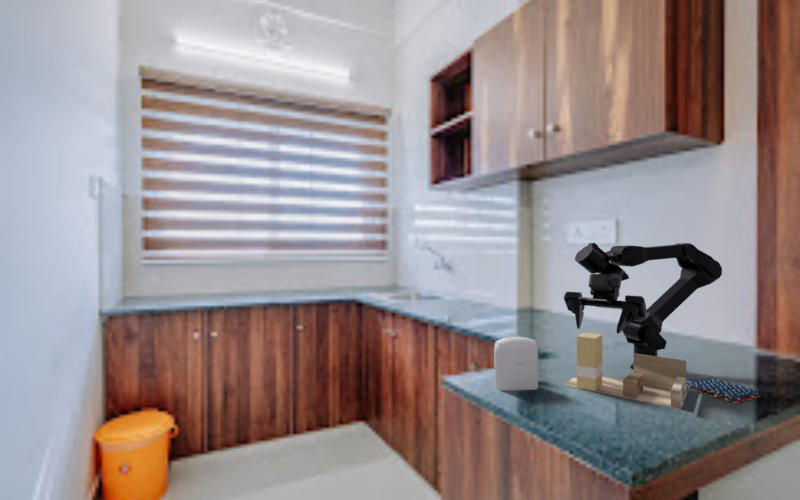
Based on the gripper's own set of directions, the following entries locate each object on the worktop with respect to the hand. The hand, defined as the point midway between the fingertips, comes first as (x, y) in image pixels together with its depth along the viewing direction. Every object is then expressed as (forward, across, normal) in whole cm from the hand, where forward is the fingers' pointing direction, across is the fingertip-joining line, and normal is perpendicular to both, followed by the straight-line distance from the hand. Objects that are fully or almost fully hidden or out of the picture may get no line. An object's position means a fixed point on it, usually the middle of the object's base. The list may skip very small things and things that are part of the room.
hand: (597, 330), depth 100 cm
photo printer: (+23, -13, -4) cm, 26 cm away
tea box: (+14, 0, +4) cm, 14 cm away
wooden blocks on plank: (+11, +7, +7) cm, 15 cm away
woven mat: (+2, +24, +17) cm, 29 cm away
